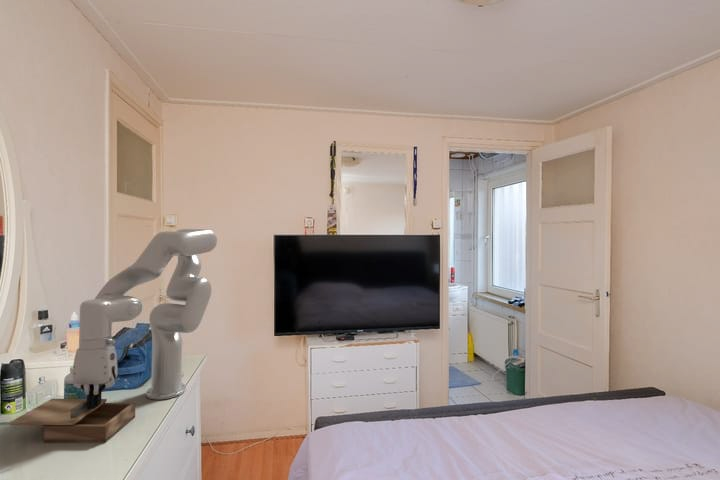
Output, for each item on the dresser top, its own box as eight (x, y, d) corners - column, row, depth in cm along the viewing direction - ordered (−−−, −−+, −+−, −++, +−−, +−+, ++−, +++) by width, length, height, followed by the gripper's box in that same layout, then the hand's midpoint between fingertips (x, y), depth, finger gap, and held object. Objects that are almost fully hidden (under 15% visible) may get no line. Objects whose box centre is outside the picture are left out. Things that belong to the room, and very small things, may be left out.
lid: (52, 401, 111) (52, 390, 111) (106, 401, 112) (106, 391, 112) (10, 424, 97) (10, 412, 97) (72, 424, 98) (73, 412, 98)
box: (81, 417, 112) (81, 402, 112) (135, 417, 113) (135, 402, 113) (43, 442, 98) (44, 426, 98) (105, 442, 99) (106, 426, 99)
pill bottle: (57, 411, 115) (58, 368, 115) (82, 401, 122) (82, 360, 122) (74, 415, 113) (75, 371, 113) (98, 405, 120) (99, 363, 120)
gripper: (129, 339, 109) (128, 401, 109) (77, 339, 108) (76, 401, 109) (114, 347, 102) (113, 413, 102) (58, 346, 101) (56, 413, 101)
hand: (94, 406), depth 105 cm, fingers closed
